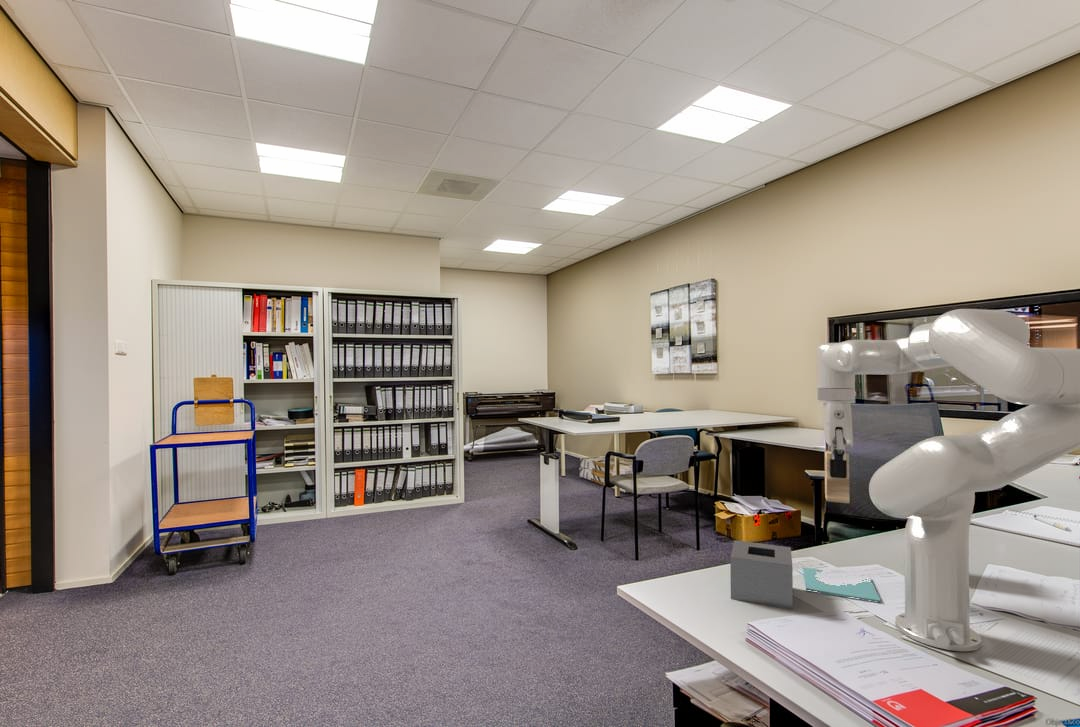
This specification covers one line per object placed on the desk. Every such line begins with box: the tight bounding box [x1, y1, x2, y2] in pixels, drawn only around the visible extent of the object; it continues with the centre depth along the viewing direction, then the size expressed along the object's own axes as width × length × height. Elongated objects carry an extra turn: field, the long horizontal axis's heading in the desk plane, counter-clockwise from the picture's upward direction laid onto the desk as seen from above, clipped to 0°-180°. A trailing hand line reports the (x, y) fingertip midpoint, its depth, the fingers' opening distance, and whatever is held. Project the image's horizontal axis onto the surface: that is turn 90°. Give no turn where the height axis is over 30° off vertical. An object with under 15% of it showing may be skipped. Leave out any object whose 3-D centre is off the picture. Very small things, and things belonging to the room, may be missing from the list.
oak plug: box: [824, 450, 851, 504], centre depth 117 cm, size 4×4×11 cm
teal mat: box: [802, 566, 882, 603], centre depth 117 cm, size 14×14×1 cm
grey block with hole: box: [729, 539, 794, 610], centre depth 113 cm, size 12×12×9 cm
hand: (836, 474), depth 117 cm, fingers closed on oak plug, 4 cm apart
